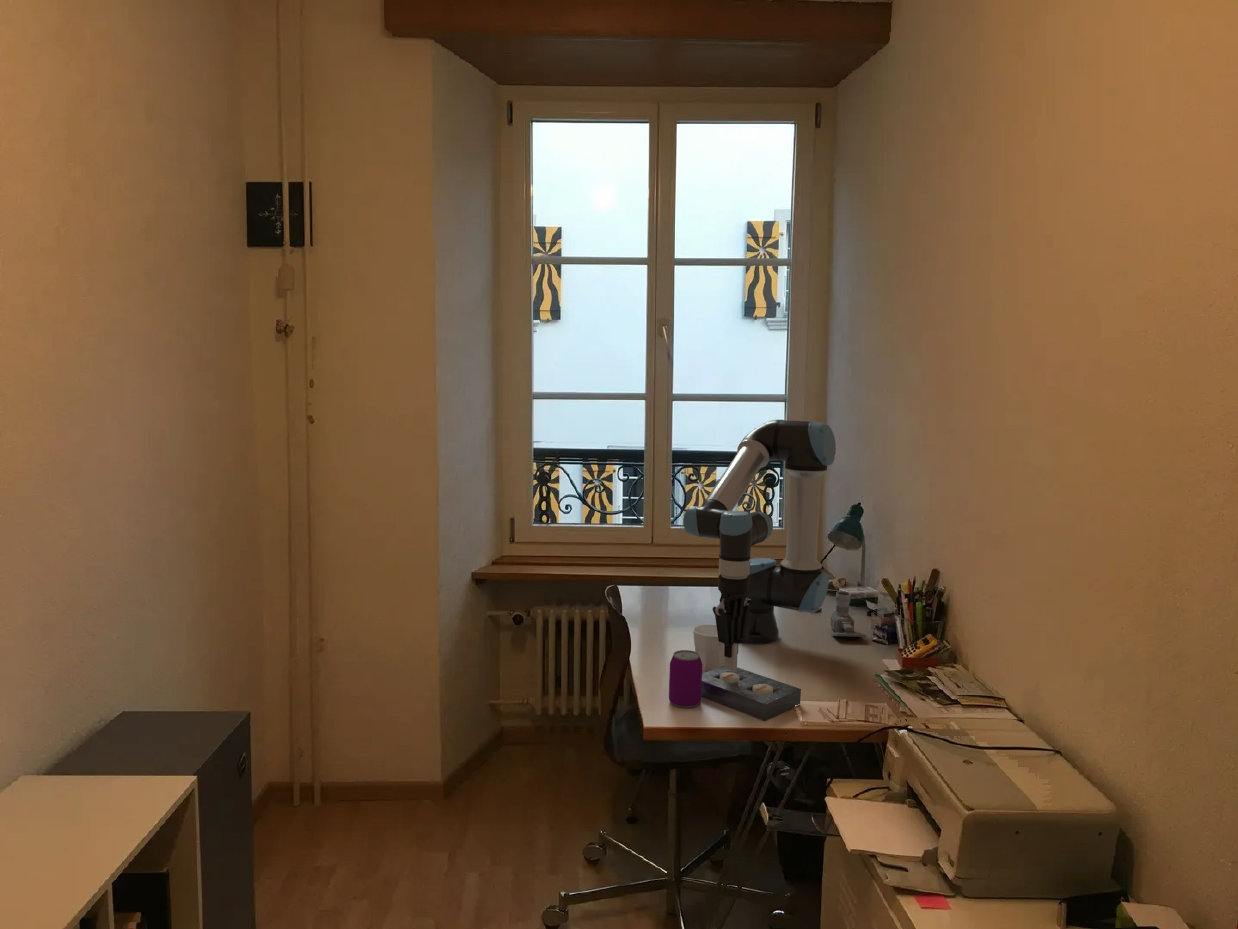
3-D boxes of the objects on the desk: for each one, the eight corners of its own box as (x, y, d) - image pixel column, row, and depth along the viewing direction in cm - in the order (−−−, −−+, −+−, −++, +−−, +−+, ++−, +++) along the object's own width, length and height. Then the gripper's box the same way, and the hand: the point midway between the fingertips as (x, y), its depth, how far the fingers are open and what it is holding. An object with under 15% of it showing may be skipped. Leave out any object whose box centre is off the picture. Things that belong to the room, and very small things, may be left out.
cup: (690, 659, 238) (692, 624, 237) (727, 660, 237) (729, 625, 236) (692, 672, 228) (694, 635, 227) (731, 673, 228) (732, 637, 226)
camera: (854, 590, 268) (868, 605, 253) (852, 627, 270) (866, 644, 255) (826, 589, 268) (838, 604, 253) (824, 626, 270) (836, 643, 255)
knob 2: (759, 698, 211) (760, 681, 210) (776, 704, 207) (777, 687, 207) (747, 703, 207) (748, 686, 207) (764, 709, 204) (765, 692, 203)
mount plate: (727, 679, 224) (728, 664, 223) (800, 705, 208) (801, 689, 207) (691, 693, 214) (692, 677, 213) (764, 721, 198) (765, 704, 198)
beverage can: (664, 706, 205) (666, 657, 204) (674, 694, 212) (675, 647, 211) (695, 711, 203) (697, 662, 201) (704, 699, 210) (706, 651, 208)
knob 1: (727, 686, 218) (728, 669, 217) (742, 691, 214) (743, 675, 214) (715, 691, 214) (715, 674, 214) (730, 696, 211) (731, 680, 210)
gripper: (738, 567, 218) (735, 658, 221) (704, 576, 209) (701, 671, 212) (762, 573, 213) (759, 666, 216) (729, 583, 204) (725, 679, 207)
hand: (730, 668), depth 214 cm, fingers closed
